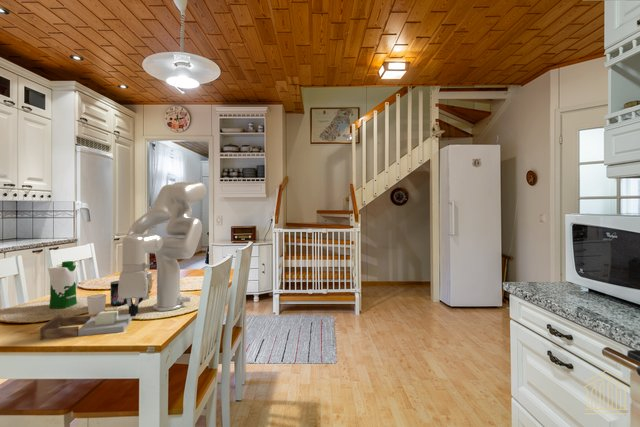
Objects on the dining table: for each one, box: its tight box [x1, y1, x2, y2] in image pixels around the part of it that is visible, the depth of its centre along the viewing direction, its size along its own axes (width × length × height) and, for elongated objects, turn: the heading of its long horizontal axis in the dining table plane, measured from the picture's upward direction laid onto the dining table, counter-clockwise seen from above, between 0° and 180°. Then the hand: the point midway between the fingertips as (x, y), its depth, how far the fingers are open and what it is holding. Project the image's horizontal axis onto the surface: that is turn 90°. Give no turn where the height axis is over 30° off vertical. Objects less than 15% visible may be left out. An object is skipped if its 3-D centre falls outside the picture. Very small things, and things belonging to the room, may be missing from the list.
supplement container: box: [110, 280, 127, 307], centre depth 153 cm, size 7×7×10 cm
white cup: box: [86, 294, 107, 316], centre depth 141 cm, size 7×7×7 cm
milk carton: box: [47, 260, 79, 309], centre depth 149 cm, size 9×9×20 cm
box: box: [39, 314, 92, 340], centre depth 121 cm, size 11×14×4 cm
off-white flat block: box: [94, 310, 119, 325], centre depth 125 cm, size 6×6×3 cm
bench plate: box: [77, 313, 133, 337], centre depth 125 cm, size 14×14×2 cm
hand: (133, 315), depth 128 cm, fingers closed
